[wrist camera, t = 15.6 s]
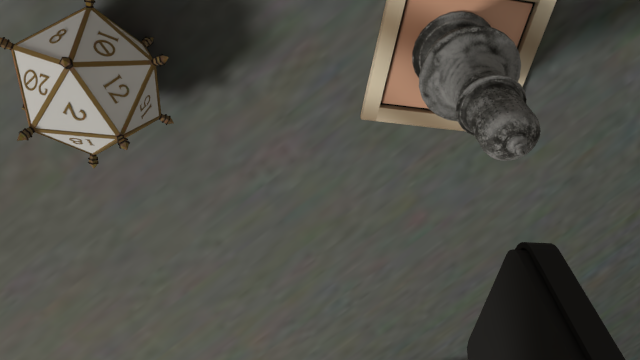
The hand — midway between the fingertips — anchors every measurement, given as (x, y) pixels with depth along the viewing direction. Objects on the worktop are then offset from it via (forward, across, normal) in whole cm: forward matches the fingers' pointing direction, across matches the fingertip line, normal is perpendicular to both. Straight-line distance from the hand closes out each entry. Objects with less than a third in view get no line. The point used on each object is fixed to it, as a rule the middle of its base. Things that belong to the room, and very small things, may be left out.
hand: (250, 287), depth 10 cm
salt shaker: (+25, -12, +5) cm, 29 cm away
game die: (+26, +9, +8) cm, 28 cm away
